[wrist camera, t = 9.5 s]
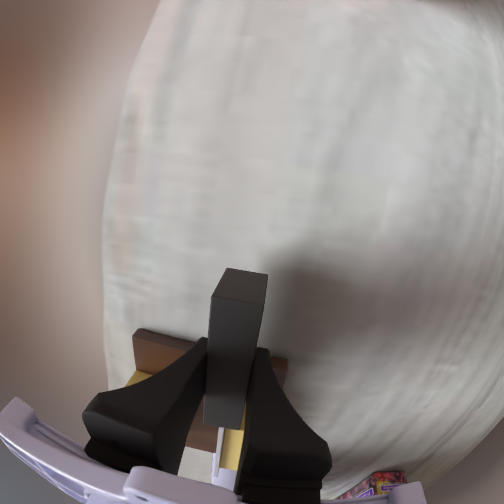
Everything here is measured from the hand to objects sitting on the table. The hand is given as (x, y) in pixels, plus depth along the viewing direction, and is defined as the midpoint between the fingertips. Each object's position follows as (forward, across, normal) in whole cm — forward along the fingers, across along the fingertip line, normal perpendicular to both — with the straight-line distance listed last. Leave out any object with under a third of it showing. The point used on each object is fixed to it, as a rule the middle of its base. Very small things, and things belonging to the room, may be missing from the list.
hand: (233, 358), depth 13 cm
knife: (+2, 0, +4) cm, 4 cm away
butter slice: (+2, -1, +8) cm, 8 cm away
